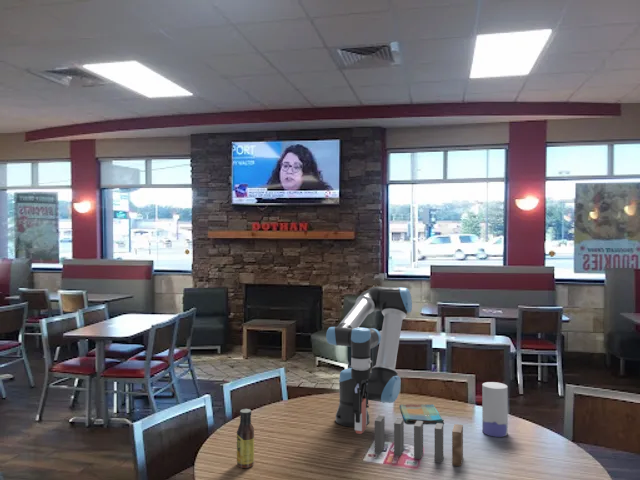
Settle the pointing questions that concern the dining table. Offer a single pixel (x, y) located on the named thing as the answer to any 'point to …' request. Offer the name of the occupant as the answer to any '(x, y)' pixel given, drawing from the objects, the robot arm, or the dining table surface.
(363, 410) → the red domino
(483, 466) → the dining table surface
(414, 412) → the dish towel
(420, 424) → the domino
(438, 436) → the domino
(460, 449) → the end stop
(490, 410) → the container
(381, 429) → the domino
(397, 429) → the domino
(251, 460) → the sauce bottle
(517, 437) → the dining table surface
